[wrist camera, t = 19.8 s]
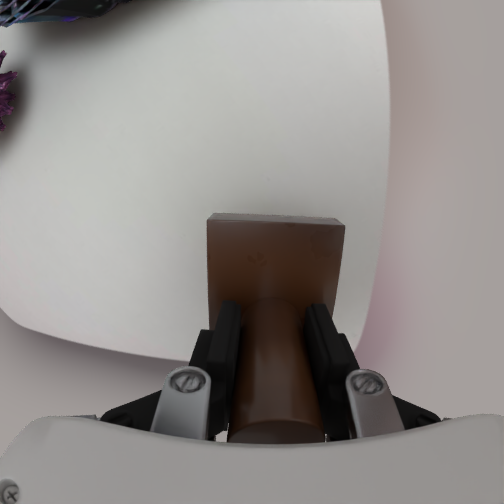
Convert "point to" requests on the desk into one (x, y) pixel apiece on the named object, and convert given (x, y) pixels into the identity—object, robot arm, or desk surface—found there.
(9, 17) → the decorative bowl
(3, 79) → the flower
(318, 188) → the desk surface
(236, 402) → the stamp
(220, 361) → the robot arm
